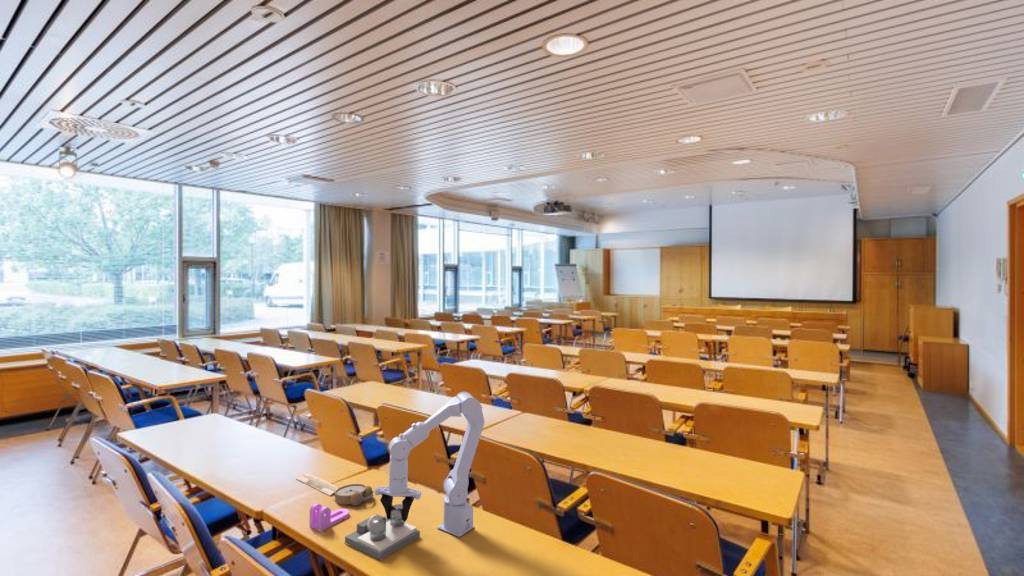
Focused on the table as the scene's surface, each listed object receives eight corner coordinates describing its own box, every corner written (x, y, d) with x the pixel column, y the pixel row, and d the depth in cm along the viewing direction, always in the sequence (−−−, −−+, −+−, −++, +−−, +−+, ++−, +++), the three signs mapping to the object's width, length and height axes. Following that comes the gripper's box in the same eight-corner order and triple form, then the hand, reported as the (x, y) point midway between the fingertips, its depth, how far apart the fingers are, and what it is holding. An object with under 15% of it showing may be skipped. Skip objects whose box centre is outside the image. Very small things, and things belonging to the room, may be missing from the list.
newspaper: (344, 492, 186) (344, 488, 186) (327, 499, 180) (327, 494, 180) (310, 476, 200) (310, 472, 200) (293, 482, 194) (293, 477, 194)
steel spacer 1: (384, 532, 151) (384, 515, 151) (387, 539, 147) (386, 522, 147) (368, 535, 149) (368, 518, 149) (370, 542, 145) (370, 525, 145)
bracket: (320, 531, 156) (321, 510, 156) (309, 526, 159) (309, 505, 159) (352, 515, 168) (353, 495, 168) (341, 511, 171) (341, 491, 170)
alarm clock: (349, 482, 188) (380, 483, 181) (351, 495, 187) (381, 496, 181) (327, 493, 177) (358, 494, 171) (328, 507, 177) (360, 509, 171)
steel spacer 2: (407, 520, 157) (408, 505, 157) (401, 527, 152) (401, 511, 152) (393, 518, 158) (394, 503, 158) (387, 525, 153) (387, 509, 153)
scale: (419, 536, 155) (420, 516, 155) (380, 560, 141) (381, 538, 141) (384, 522, 163) (385, 503, 163) (344, 543, 150) (345, 522, 150)
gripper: (424, 473, 157) (423, 515, 157) (382, 469, 159) (381, 510, 160) (416, 482, 150) (415, 526, 150) (372, 478, 152) (371, 521, 153)
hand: (397, 518), depth 154 cm, fingers closed on steel spacer 2, 5 cm apart
